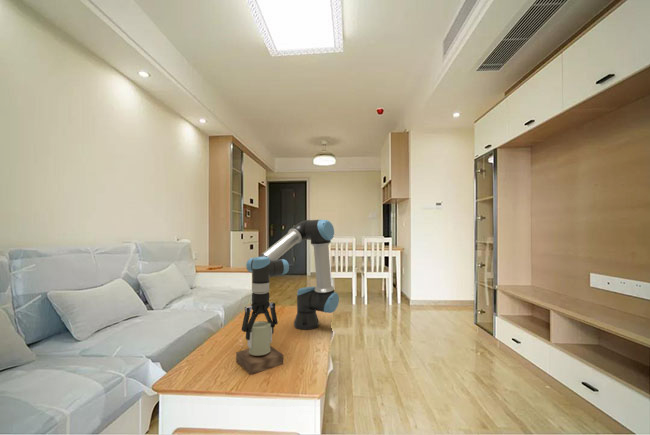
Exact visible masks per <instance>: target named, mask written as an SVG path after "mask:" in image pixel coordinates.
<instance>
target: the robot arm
mask: <svg viewBox="0 0 650 435" xmlns="http://www.w3.org/2000/svg"><path fill="white" fill-rule="evenodd" d="M334 235H335V229H334V225H333V223H332V222H331V221H329V220H327V219H307V220H302V221H301V222H299V223H297V224H295V225H293V227H291V228H289V229H288V231H287V233H286V234H285V235H284V236H282V237H281V238H280V239H279V240H278V241H276V242H275V243H274V244H272V245H271V246H270V247H269V248H267V249H266V250H264V251H263V252H262V253H261V254H260V255H259V256H255V257H250V258H249V259H248V260H247V262H246V264H245V266H246V270H247V271H248V272H249V273H251V280H252V281H251V284H252V285H251V292H252V293H251V304H250V306H245V307H244V315H243V316H244V317H243V320H242V324H241V331H242V332H244V333H245V340H246V341H247V347H248V349H249V348H252V332H251V329H252V326H253V324H254V322H256V319H257V317H258V316H259V315H261V314H263V315H264V317H265V319H266V322H269V323H271V327H270V344H271V343H273V334H274V331H275V329H274V328H275V326H276V325H278V323H279V321H278V316H277V312H276V303H275V302H273V301H272V302H270V278H271V277H278V276H283V275H286V274H287V273H288V272H289V271H290V270H289V269H290V265H289V262H288V260H286V259H284V258H282V259H281V257H282V256H283V255H285V253H286V252H288V251H289V250H290V249H291V248H292V247H294V246H295V245H296V244H299V243H301V242H302V241H306V240H308V241H309V240H310V245H312V247H313V254H314V268H315V282H316V283H315V284H316V286H305V287H304V286H303V287H301V288H298V289H297V293H296V300H297V301H296V307H297V308H296V315H295V318H294V322H293V327H294V328H295V329H299V330H305V331H306V330H313V329H316V328H319V327H320V326H319V325H320V324H319V323H320V321H319V318H318V315H317V312H322V313H326V314H327V313H328V314H333V313H334V312H335V311H336V309H337V308H338V305H339V302H340V297H339V294H338V292H335V287H334V286H332V279H331V278H332V277H331V264H330V250H329V248H330V247H329V245H330V244H331V240H334V239H333V238H334ZM268 309H270V312H269V310H268ZM270 314H271V315H270ZM250 315H251V316H250Z"/></svg>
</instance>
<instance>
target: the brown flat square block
mask: <svg viewBox="0 0 650 435" xmlns="http://www.w3.org/2000/svg"><path fill="white" fill-rule="evenodd" d="M270 349H271V350H270V352H269V353H267V354H265V355H260V356H255V355H251V354H250V353H249V348H247V349H243V350H239V351H236V352H235V362H236V363H237V364H238V365H239V366H240V367H241V368H243V369H244V370H245V371H246V373H248V374H249V375H250V376H251V375H255V374H258V373H261V372H264V371H266V370H269V369H272V368H275V367H279V366H282V365H284V354H283V353H282V352H281V351H279V350H278V349H276V348H275V347H272V346H271V345H270Z"/></svg>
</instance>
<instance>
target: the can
mask: <svg viewBox="0 0 650 435" xmlns="http://www.w3.org/2000/svg"><path fill="white" fill-rule="evenodd" d="M270 327H271V323H269V322H268V321H267V320H263V321H262V320H261V321H260V320H259V321H255V322H254V324H253V326H252V329H251V332H252V348H249V347H248V349H249V353H250V354H251V355H255V356H260V355H265V354H267V353H269V352H270V350H271V349H270V346H271V343H270Z"/></svg>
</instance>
